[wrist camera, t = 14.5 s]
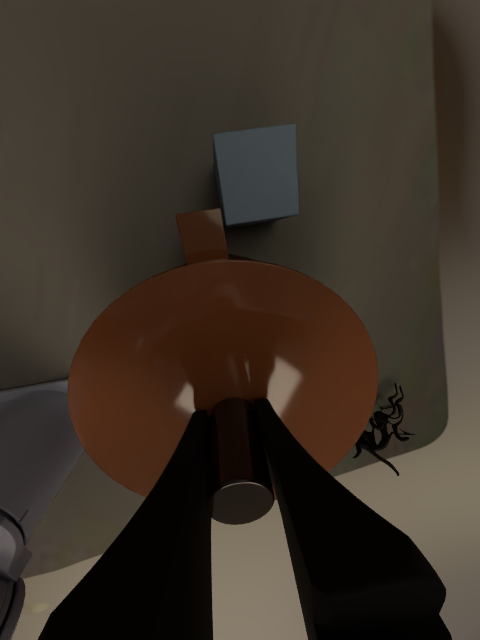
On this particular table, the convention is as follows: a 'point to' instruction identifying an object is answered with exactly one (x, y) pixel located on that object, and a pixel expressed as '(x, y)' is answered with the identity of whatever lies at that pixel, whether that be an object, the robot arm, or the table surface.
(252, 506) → the lid
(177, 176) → the table surface
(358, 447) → the creature
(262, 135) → the block
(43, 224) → the table surface
